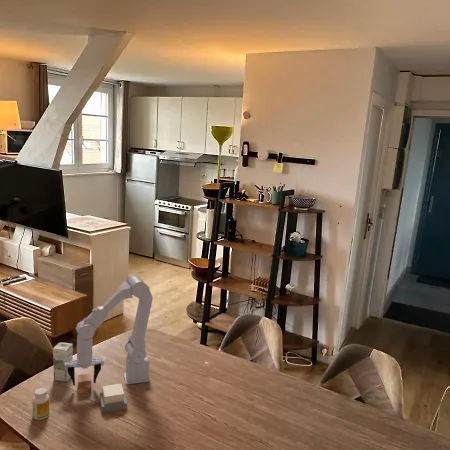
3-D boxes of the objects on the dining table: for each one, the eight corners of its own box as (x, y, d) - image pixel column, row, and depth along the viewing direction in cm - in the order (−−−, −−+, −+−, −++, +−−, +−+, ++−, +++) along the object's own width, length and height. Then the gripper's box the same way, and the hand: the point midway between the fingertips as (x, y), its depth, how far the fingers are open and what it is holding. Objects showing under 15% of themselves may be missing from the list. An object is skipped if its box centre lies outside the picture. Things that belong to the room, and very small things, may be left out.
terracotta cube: (90, 384, 170) (90, 373, 169) (91, 392, 165) (91, 380, 164) (77, 386, 168) (77, 375, 167) (77, 393, 163) (77, 382, 162)
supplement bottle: (52, 413, 151) (52, 388, 149) (41, 422, 146) (41, 397, 144) (40, 409, 153) (40, 385, 151) (29, 417, 148) (28, 393, 146)
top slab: (121, 390, 163) (121, 383, 163) (123, 401, 157) (124, 393, 156) (102, 393, 161) (102, 386, 160) (104, 404, 154) (104, 396, 154)
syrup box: (73, 374, 175) (73, 342, 173) (66, 382, 170) (66, 349, 167) (60, 373, 176) (59, 341, 173) (53, 381, 170) (52, 348, 167)
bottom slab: (123, 396, 165) (124, 389, 164) (126, 410, 156) (127, 403, 156) (99, 399, 161) (100, 392, 161) (101, 414, 153) (101, 406, 153)
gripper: (64, 358, 157) (64, 391, 160) (104, 354, 162) (104, 386, 165) (64, 349, 164) (64, 381, 166) (103, 345, 169) (102, 376, 171)
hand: (84, 383), depth 166 cm, fingers open, 7 cm apart
